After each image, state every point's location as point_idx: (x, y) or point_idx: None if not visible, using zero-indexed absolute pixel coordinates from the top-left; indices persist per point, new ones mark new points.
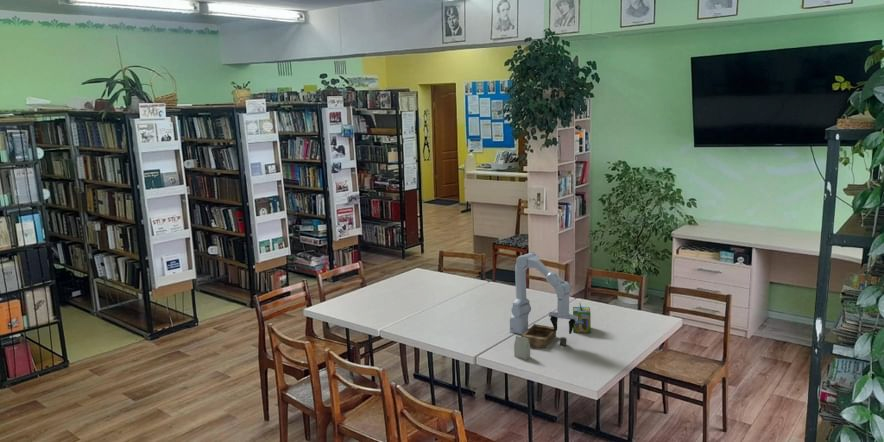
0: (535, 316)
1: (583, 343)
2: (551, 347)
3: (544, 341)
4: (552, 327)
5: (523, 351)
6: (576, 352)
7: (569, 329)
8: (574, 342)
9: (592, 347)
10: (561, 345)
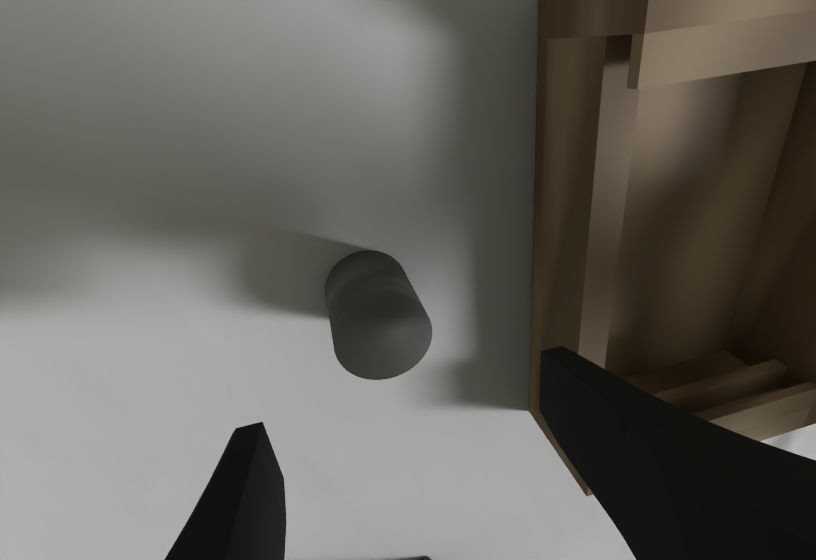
0: None
1: (194, 457)
2: (461, 127)
3: (605, 35)
4: None
5: None
6: (39, 174)
7: (230, 507)
8: (296, 418)
9: (13, 442)
10: (370, 253)
